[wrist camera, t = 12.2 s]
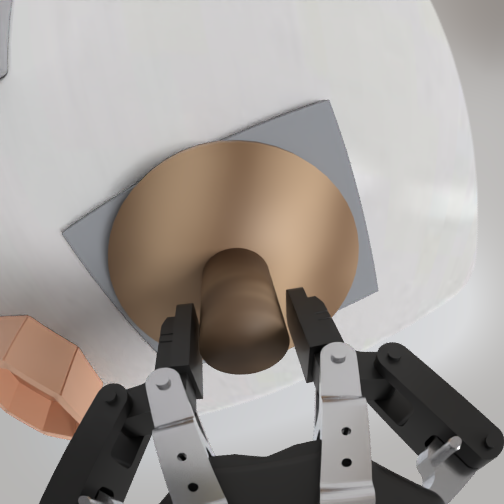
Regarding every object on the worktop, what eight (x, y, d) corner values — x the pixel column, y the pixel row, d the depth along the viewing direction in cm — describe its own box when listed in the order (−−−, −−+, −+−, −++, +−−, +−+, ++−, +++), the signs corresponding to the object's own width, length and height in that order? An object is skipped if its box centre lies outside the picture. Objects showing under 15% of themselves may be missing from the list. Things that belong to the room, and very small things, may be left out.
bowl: (58, 313, 17) (34, 362, 13) (118, 403, 23) (112, 445, 18) (-24, 317, 16) (-46, 352, 12) (35, 396, 22) (24, 429, 18)
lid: (354, 132, 13) (430, 155, 8) (339, 331, 20) (370, 397, 15) (86, 167, 12) (18, 210, 7) (153, 357, 19) (143, 429, 14)
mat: (323, 100, 13) (329, 100, 12) (373, 284, 19) (378, 290, 19) (67, 227, 14) (62, 233, 14) (177, 364, 21) (176, 371, 20)
